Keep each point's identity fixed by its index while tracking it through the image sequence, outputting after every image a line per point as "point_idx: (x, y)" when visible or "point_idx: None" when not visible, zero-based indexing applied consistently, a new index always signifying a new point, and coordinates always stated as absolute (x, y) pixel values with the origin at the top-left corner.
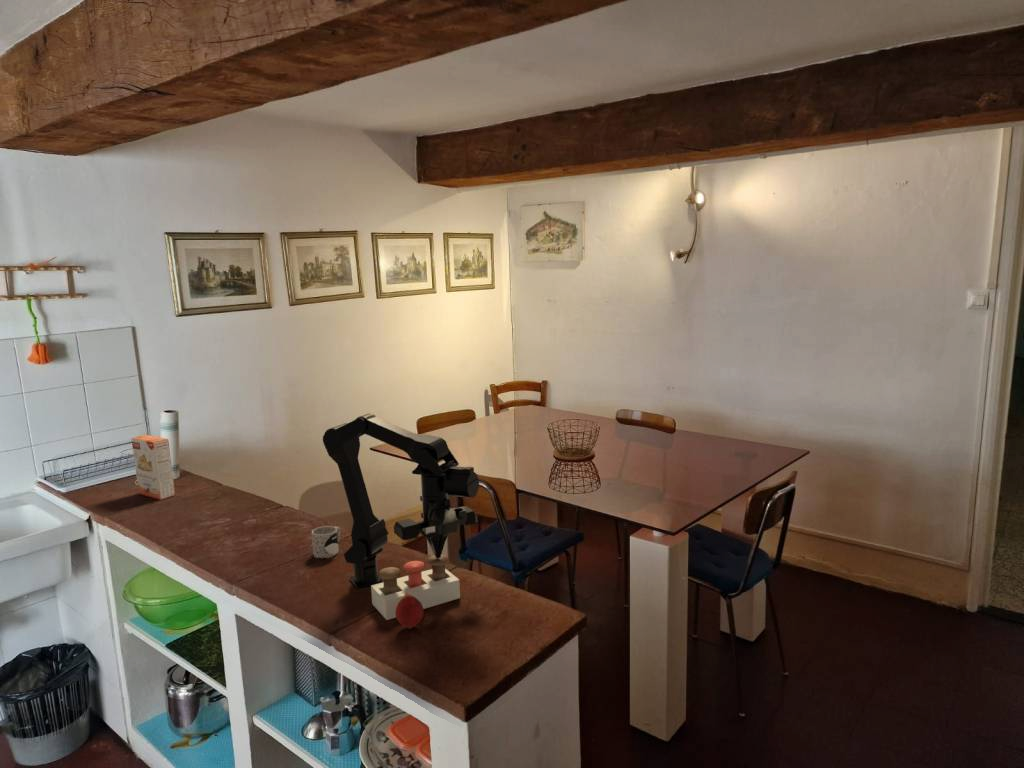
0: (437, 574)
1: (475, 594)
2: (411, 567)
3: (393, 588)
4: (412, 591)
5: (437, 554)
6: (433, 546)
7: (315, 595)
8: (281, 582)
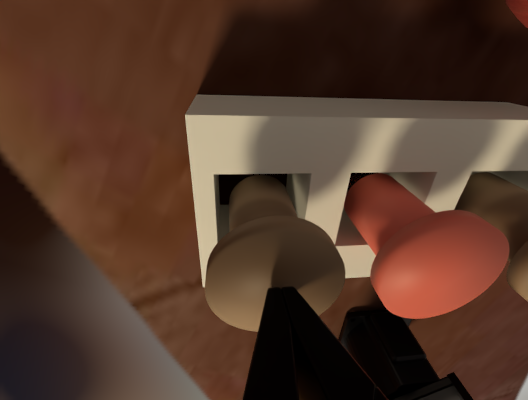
0: (287, 204)
1: (116, 82)
2: (482, 256)
3: (516, 190)
4: (457, 135)
5: (302, 308)
6: (381, 394)
7: (486, 317)
8: (478, 374)
